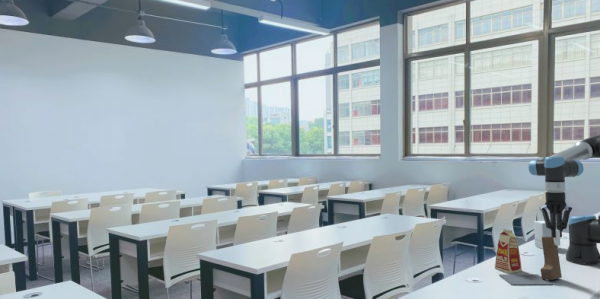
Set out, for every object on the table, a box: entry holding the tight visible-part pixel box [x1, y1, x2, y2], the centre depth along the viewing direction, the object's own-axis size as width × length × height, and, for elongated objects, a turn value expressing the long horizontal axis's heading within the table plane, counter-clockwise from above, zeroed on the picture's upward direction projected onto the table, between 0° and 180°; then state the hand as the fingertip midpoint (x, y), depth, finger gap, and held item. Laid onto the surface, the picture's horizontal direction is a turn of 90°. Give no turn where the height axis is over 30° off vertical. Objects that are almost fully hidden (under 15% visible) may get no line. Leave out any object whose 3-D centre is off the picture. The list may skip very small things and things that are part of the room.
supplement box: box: [533, 220, 559, 250], centre depth 245 cm, size 9×9×15 cm
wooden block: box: [540, 237, 563, 281], centre depth 188 cm, size 9×4×18 cm, turn 123°
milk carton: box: [494, 228, 523, 274], centre depth 205 cm, size 9×9×20 cm
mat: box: [498, 273, 554, 286], centre depth 188 cm, size 17×14×1 cm
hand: (556, 244), depth 186 cm, fingers closed
